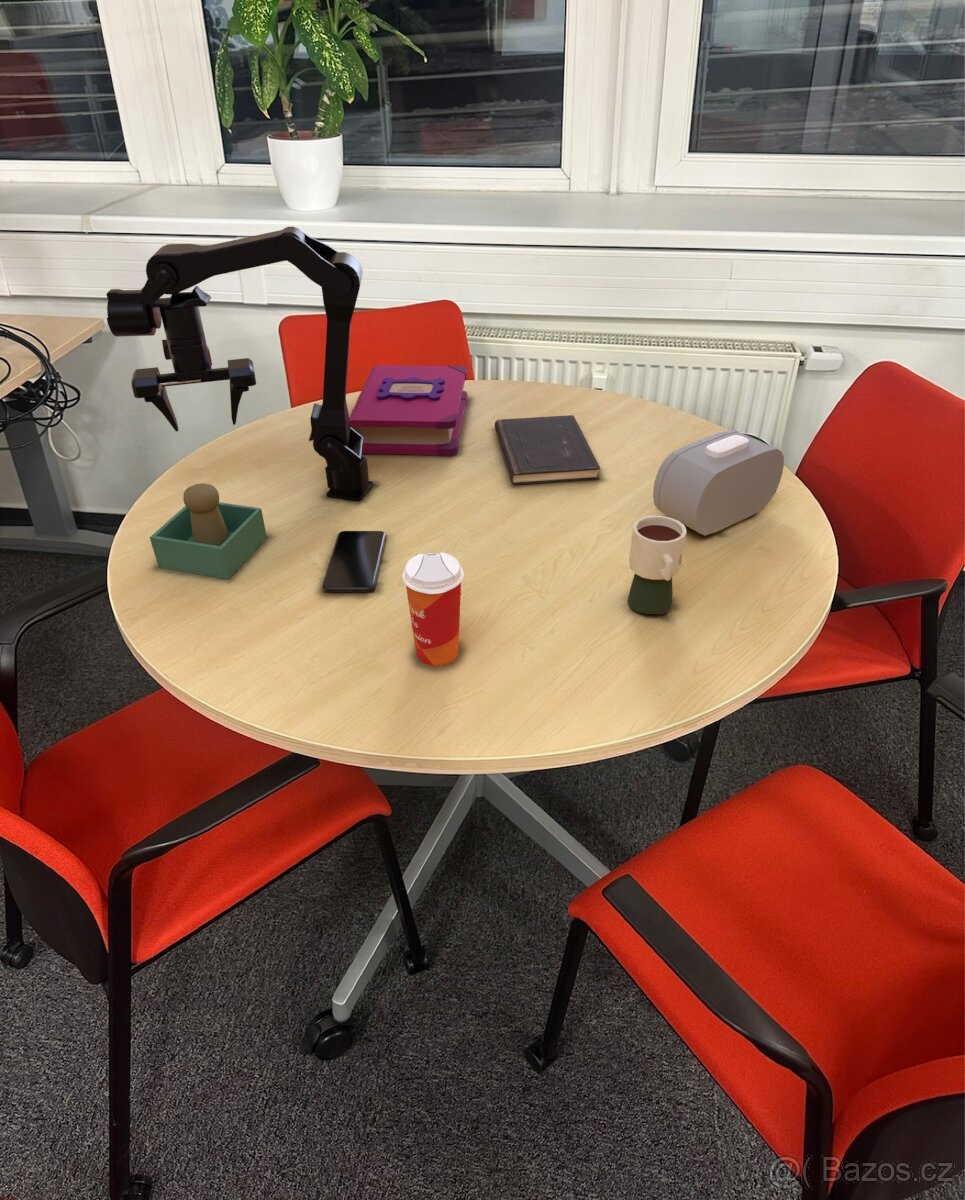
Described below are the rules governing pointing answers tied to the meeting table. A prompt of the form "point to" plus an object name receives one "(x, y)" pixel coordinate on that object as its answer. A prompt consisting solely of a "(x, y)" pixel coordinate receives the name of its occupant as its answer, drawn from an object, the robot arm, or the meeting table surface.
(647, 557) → the character mug
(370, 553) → the smartphone
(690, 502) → the alarm clock
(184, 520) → the tote
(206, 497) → the brown pawn
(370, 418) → the book
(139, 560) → the meeting table surface
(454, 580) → the paper cup
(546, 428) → the hardcover book
